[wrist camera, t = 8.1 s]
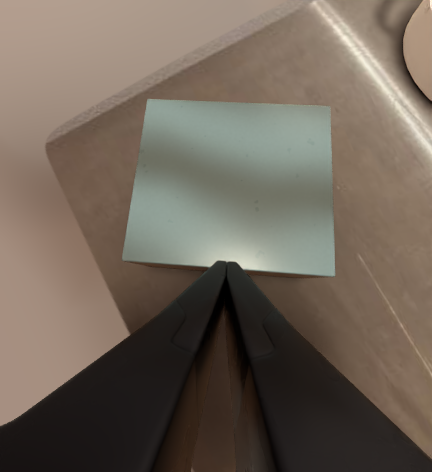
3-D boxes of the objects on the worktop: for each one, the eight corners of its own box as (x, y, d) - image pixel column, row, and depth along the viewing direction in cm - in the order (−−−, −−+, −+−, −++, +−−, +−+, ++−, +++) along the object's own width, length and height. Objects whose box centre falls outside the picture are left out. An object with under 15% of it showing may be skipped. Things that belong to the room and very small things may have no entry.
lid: (150, 106, 19) (147, 98, 18) (326, 113, 18) (330, 105, 17) (126, 261, 16) (121, 260, 16) (330, 277, 16) (335, 276, 15)
